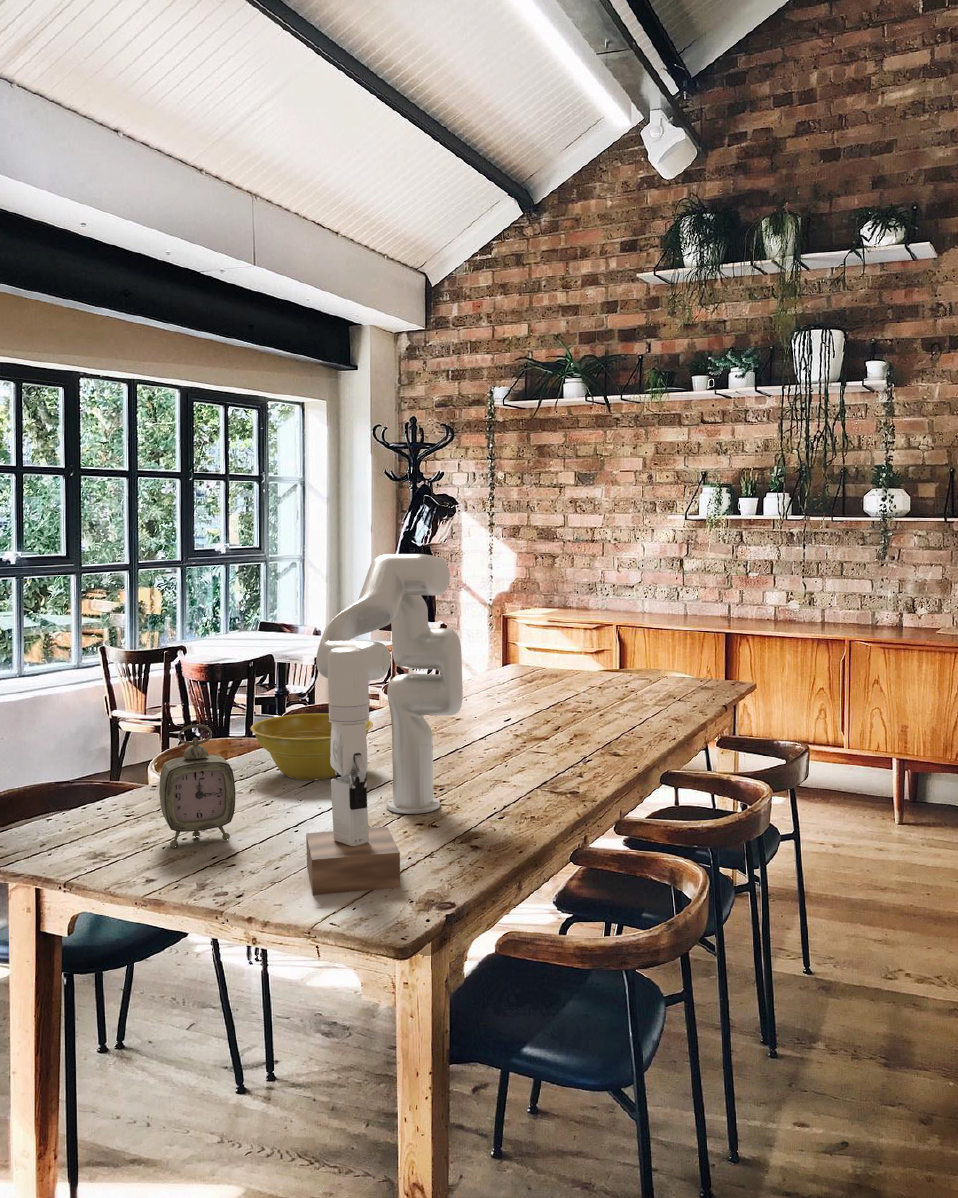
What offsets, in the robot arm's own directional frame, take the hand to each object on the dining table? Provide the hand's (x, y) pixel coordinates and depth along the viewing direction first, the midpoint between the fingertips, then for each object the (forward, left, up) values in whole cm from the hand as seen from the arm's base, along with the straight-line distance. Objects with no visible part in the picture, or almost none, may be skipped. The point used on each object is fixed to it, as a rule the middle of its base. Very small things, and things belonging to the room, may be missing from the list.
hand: (351, 801), depth 193 cm
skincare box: (0, 0, -8) cm, 8 cm away
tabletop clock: (-34, -24, -15) cm, 44 cm away
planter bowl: (-80, +12, -15) cm, 82 cm away
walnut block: (+1, 0, -15) cm, 15 cm away
